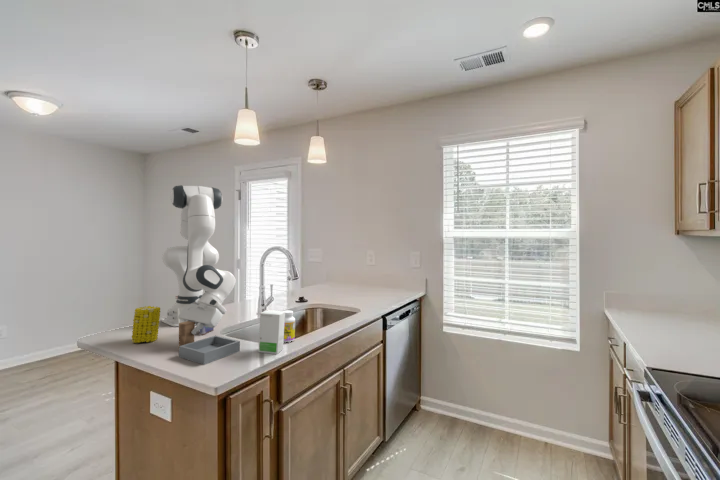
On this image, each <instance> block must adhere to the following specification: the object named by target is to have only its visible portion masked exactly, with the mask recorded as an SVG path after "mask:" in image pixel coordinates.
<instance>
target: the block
mask: <svg viewBox="0 0 720 480" xmlns="http://www.w3.org/2000/svg"><path fill="white" fill-rule="evenodd" d="M195 327H196V325H195V322H190V321H186V322H182V323H179V326H178V347H179V346H182V345H185V344H188V343H192V342H195V335H193V334H191V333H190V331H191V330H192V329H194V328H195Z"/></svg>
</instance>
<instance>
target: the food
mask: <svg viewBox="0 0 720 480" xmlns="http://www.w3.org/2000/svg"><path fill="white" fill-rule="evenodd" d="M160 318H161V307H160V306H159V307H158V306H154V305H153V306H151V305H148V306H146V305H145V306H141V307H137V308H135V310H134V316H133V319H132V321H133V323H132V332H131V333H132V335H131V341H132V342H131V343H133V344H134V343H135V344H138V343H143V342H144V343H145V342H146V343H149V342H151V343H152V342H155V341H156V340H158V339H159V338H158V336H159V326H160V320H161V319H160Z"/></svg>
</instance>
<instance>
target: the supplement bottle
mask: <svg viewBox="0 0 720 480" xmlns="http://www.w3.org/2000/svg"><path fill="white" fill-rule="evenodd" d="M283 311H284V312H285V323H284V341H283V344H287V343H286V342H289V343H292V342H291V341H293V340H294V341H295V339H296V338H295V337H296V336H295V335H296V334H295V333H296V318H295V317H294V316H293V315H294V311H293V310H289V309H288V310H287V309H286V310H283ZM294 341H293V342H294Z"/></svg>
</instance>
